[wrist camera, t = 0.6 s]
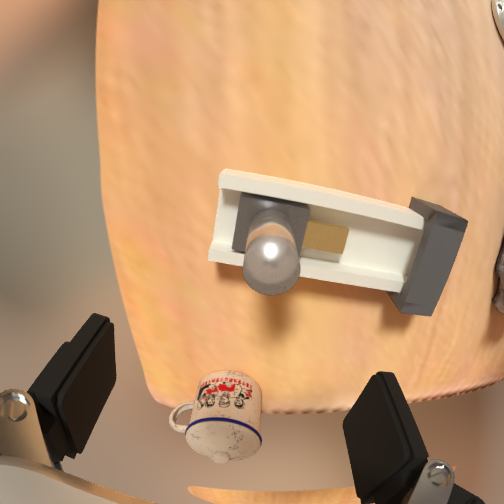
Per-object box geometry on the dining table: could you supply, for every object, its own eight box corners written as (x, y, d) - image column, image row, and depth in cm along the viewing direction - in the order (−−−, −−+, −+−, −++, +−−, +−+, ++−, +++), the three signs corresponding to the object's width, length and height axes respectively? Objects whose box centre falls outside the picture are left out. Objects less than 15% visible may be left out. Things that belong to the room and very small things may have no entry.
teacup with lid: (259, 366, 38) (256, 441, 27) (265, 409, 41) (264, 477, 30) (169, 368, 39) (145, 436, 28) (186, 410, 42) (170, 473, 31)
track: (447, 208, 29) (475, 223, 24) (418, 291, 33) (438, 317, 28) (227, 156, 28) (218, 161, 23) (212, 257, 32) (202, 281, 27)
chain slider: (348, 212, 28) (386, 254, 19) (335, 259, 30) (362, 317, 20) (241, 191, 28) (229, 224, 18) (233, 241, 29) (219, 294, 20)
